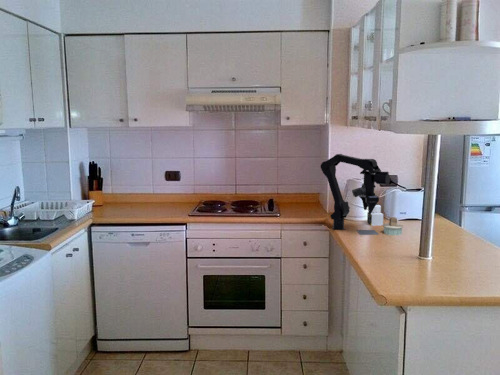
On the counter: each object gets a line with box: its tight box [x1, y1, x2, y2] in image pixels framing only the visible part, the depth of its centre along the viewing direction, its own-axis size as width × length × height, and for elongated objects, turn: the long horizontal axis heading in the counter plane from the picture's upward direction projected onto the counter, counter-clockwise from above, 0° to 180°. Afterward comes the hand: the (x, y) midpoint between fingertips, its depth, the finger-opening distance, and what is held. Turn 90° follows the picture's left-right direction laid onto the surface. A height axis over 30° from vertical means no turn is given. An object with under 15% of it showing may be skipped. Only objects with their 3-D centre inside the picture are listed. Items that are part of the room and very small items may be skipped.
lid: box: [382, 217, 404, 229], centre depth 233 cm, size 10×10×5 cm
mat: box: [356, 229, 380, 236], centre depth 236 cm, size 10×10×1 cm
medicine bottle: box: [366, 203, 384, 227], centre depth 254 cm, size 7×7×12 cm
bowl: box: [383, 227, 403, 236], centre depth 234 cm, size 9×9×4 cm
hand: (367, 211), depth 233 cm, fingers open, 9 cm apart
